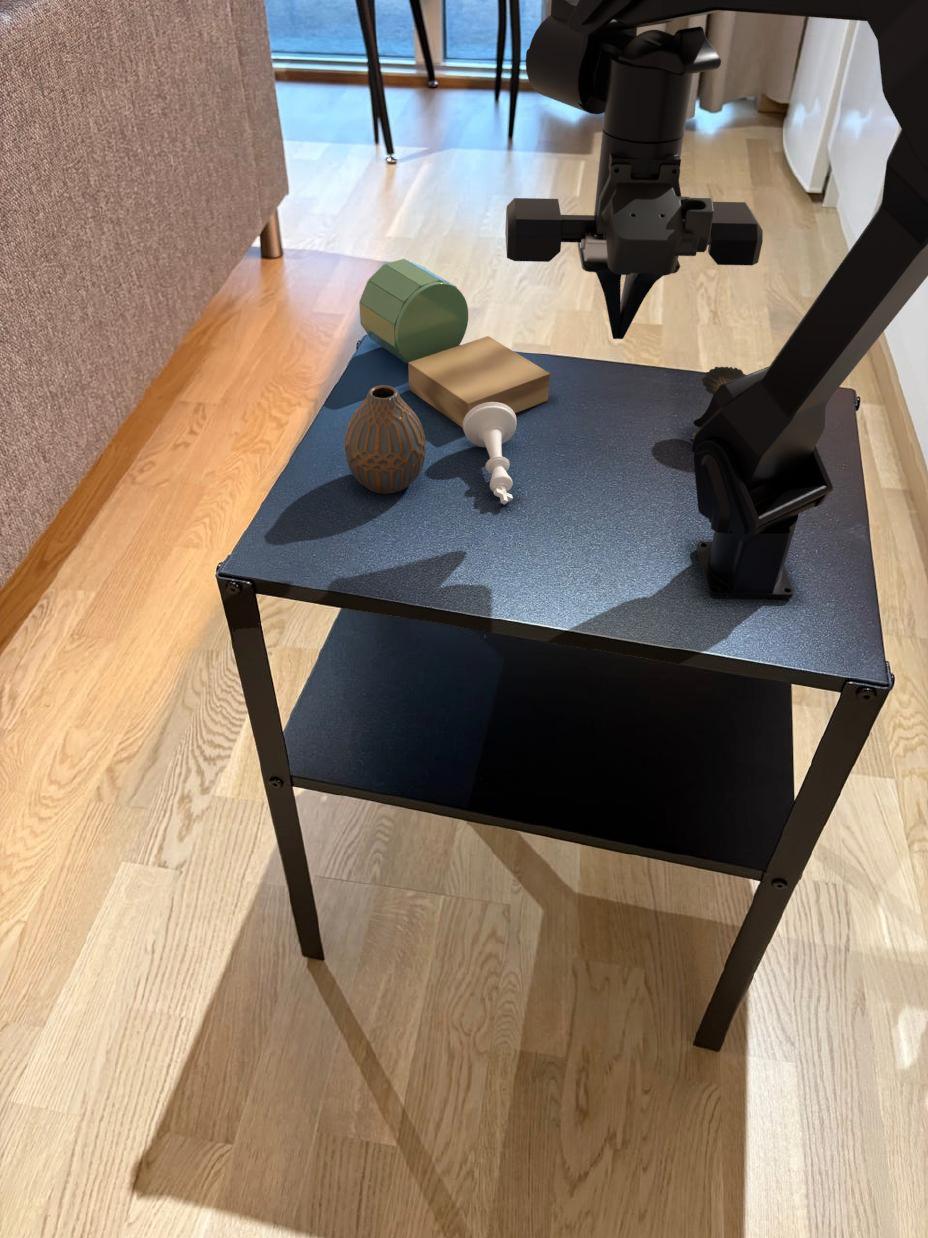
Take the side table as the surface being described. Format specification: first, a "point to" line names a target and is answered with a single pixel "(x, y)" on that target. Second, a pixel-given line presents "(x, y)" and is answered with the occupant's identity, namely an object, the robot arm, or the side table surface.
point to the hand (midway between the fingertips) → (617, 336)
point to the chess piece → (493, 441)
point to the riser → (477, 379)
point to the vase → (385, 442)
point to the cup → (412, 311)
